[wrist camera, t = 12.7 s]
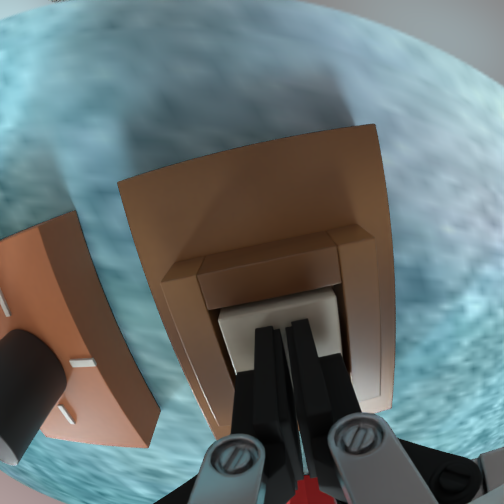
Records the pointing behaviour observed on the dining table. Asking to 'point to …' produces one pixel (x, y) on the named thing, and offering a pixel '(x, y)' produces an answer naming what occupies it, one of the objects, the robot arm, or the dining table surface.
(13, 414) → the volume knob
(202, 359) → the stepped nested square plaque
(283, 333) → the key
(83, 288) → the volume box
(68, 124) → the dining table surface
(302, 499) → the french fries
